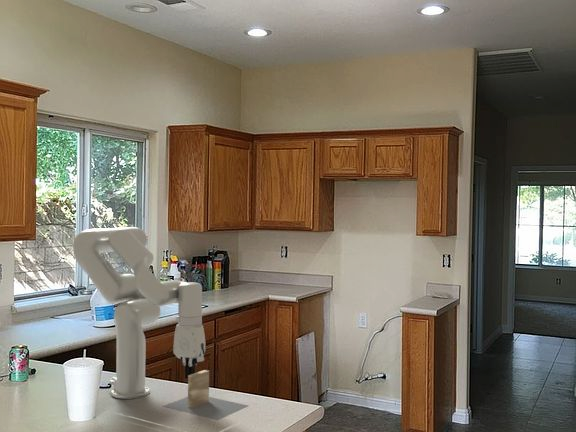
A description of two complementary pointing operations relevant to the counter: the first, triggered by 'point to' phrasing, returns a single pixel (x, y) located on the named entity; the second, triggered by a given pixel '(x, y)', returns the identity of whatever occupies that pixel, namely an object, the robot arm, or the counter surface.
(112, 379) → the robot arm
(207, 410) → the rubber mat
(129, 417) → the counter surface
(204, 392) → the birch tile
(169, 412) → the counter surface
